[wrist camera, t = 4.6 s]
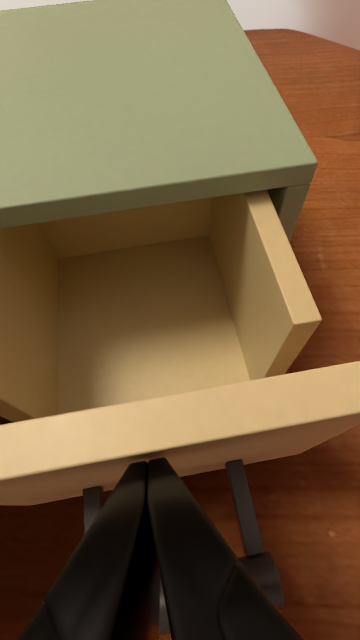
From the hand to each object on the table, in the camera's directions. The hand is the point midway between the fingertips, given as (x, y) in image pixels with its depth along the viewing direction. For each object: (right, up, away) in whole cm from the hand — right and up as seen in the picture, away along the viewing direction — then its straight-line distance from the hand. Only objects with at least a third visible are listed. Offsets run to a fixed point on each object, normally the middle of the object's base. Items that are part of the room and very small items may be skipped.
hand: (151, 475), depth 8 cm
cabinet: (-2, +9, +14) cm, 16 cm away
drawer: (0, +1, +8) cm, 8 cm away
